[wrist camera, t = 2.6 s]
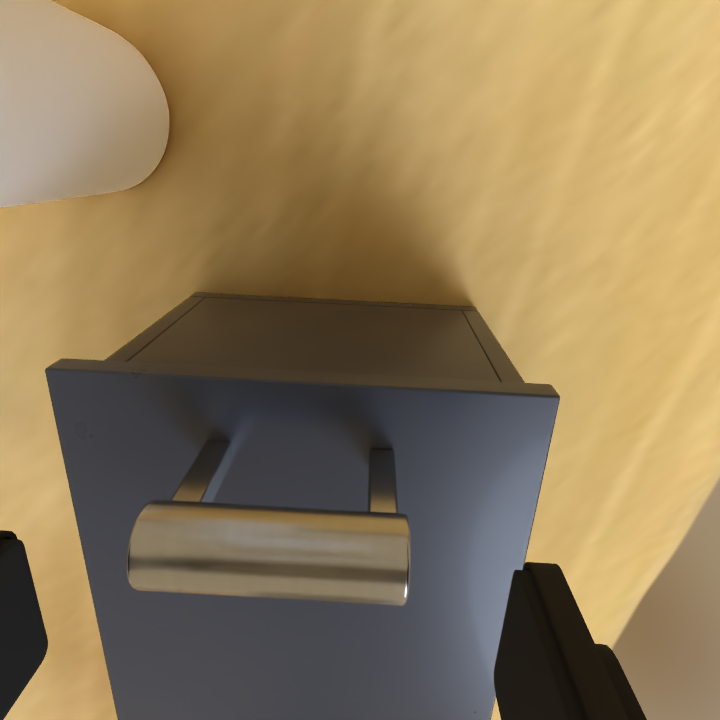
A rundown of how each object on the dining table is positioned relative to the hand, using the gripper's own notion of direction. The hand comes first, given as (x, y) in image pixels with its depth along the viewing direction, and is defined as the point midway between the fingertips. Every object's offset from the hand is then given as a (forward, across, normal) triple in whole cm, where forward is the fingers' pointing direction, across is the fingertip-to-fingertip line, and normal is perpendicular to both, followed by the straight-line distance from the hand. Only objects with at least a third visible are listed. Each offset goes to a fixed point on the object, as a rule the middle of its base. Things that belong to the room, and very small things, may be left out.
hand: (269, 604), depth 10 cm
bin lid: (+6, 0, +6) cm, 8 cm away
